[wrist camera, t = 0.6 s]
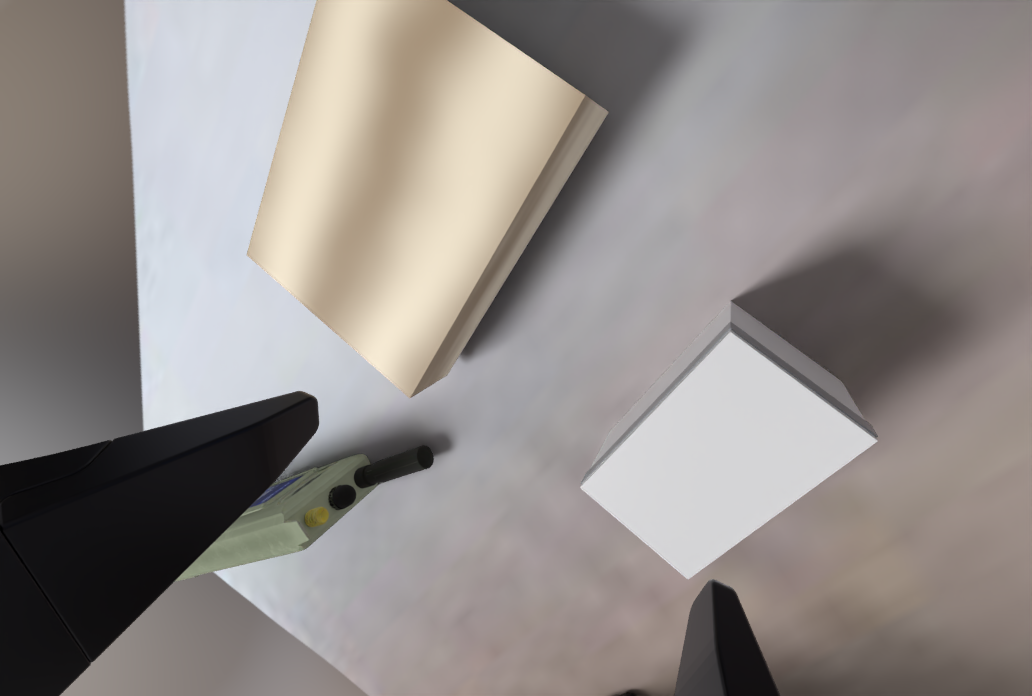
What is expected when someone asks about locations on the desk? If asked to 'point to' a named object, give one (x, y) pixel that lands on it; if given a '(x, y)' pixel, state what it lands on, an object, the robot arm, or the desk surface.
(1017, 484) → the desk surface
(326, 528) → the handheld radio
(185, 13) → the desk surface
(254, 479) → the robot arm
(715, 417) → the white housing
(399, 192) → the cream rectangular block
